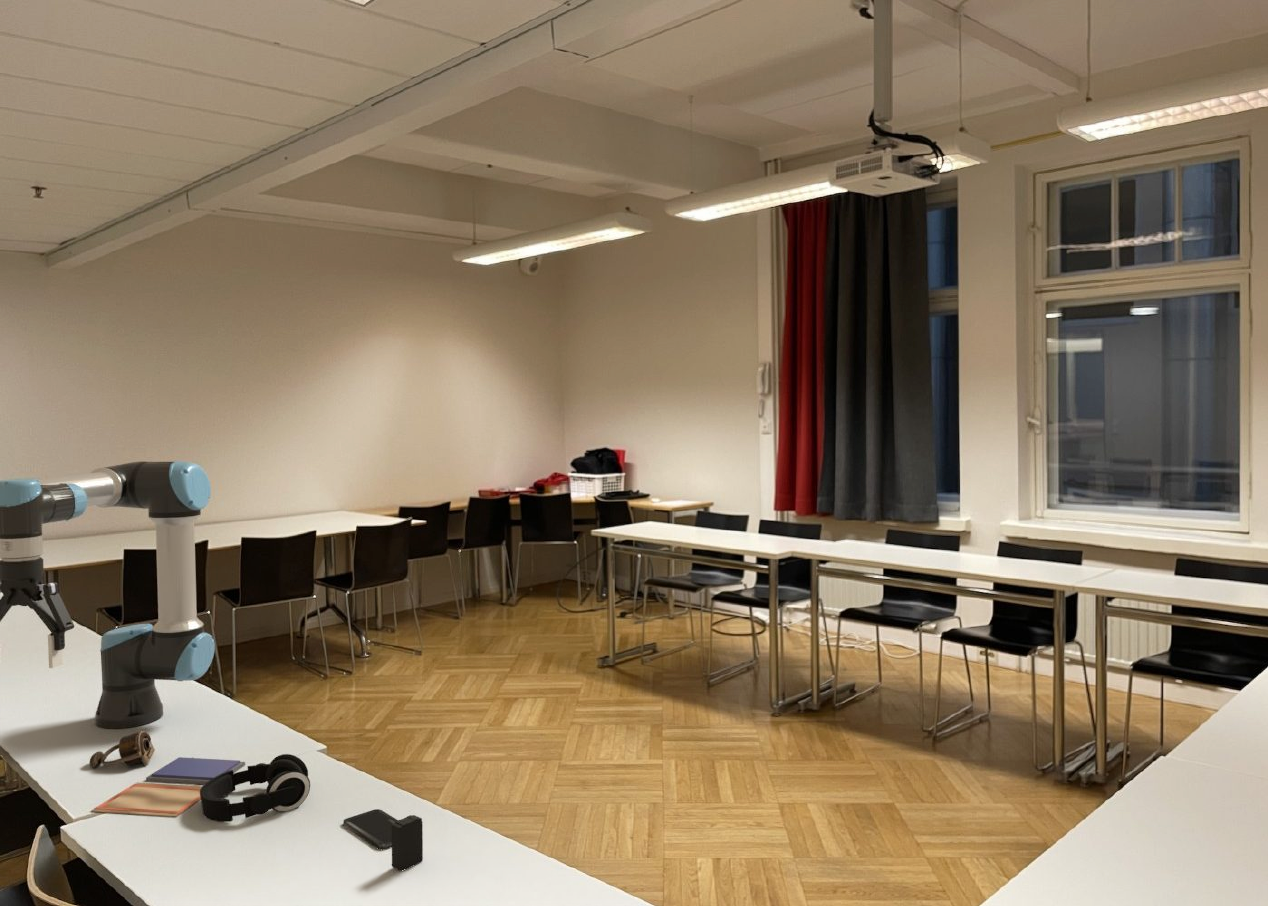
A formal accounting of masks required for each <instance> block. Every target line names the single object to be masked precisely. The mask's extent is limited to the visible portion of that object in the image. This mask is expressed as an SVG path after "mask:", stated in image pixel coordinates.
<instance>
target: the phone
mask: <svg viewBox="0 0 1268 906" xmlns="http://www.w3.org/2000/svg"><path fill="white" fill-rule="evenodd" d="M398 820H399V819H396V817H393V816H392V815H391V814H389V813H387V812H386V811H384V810H383V809H371V810H369V811H365V812H362V813H359V814H357V815H353V816H350V817H347V818H344V819H343V826H344V827H345V828H346V829H348V830H349V831H351V833H353V834H355V835H356V836H358V837H360V838H361V839H363V840H364V841H366V842H367V843H368V844H369V845H371V846H372V847H374V846H375V847H376V848H375V847H374V848H375V849H377V848H378V849H377V850H379V849H380V851H381V849H382V851H384V850H383V849H385V850H388V849H391V848H392V831H391V825H392V824H393V823H395V822H396V821H398ZM390 847H391V848H390ZM387 848H388V849H387Z"/></svg>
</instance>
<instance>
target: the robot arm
mask: <svg viewBox="0 0 1268 906" xmlns="http://www.w3.org/2000/svg"><path fill="white" fill-rule="evenodd" d="M211 492H212V491H211V482H210V479H209V477H208V474H207V473H206V471H205V470H204V469H203V467H201V465H199V464H197V463H194V462H189V461H188V462H187V461H186V462H185V461H180V460H179V461H178V460H175V461H143V460H142V461H133V462H126V463H122V464H116V465H111V466H106V467H105V466H104V467H98V468H95V469H94V470H92V471H91V472H90V473H83V474H74V475H66V476H57V477H49V478H43V479H42V478H41V479H40V478H39V479H36V478H12V479H11V478H10V479H3V480H0V593H2V594H3V595H2V596H1V597H0V622H2V620H3V619H4V617H5V616H6V615H7V613H8V612H9V611H10V609H11V608H12V607H13V606H14V607H17V606H20V607H28V608H29V609H31V610H33V611H34V612H35V614H37V616H38V618H39V619H40V620H41V621H42V623H43V624H44V625H45V626H46V628H47V629H48V630H49V631H50V634H48V635H47V645H48V646H47V647H48V650H47V651H48V669H54V668H57V667H60V666H62V665H63V663H64V662H63V661H64V660H63V650H64V649H65V646H66V642H65V641H66V640H65V635H66V632H68V631H70V630H73V629H74V628H75V624H74V621H73V620H72V616H71V615H70V614H69V612H68V610H67V607H66V605H65V603H64V601H63V599H62V597H61V595H60V593H59V585H58V583H57V582H56V581H52V582H49V583H44V582H43V580H42V579H43V576H44V574H45V572H44V571H45V570H44V567H45V566H44V558H42V557H41V556H42V555H43V554H44V546H43V545H44V544H43V543H44V542H43V525H45V524H49V523H55V522H62V521H67V522H68V521H70V520H73V519H76V518H78V517H80V516H82V515H83V514H84V513H85V511H86V510H87V507H92V506H96V507H97V508H98V507H99V508H102V509H105V508H110V507H111V508H112V507H113V508H114V507H116V508H129V509H131V508H132V509H147V510H148V511H147V512H148V519H149V520H150V521H151V522H153V523H154V524H155V545H156V579H157V613H158V620H157V622H156V623H155V624H154V625H153V624H152V623H138V624H132V625H128V626H127V625H126V626H122V627H118V628H115V629H111V630H110V631H107V632H105V633H104V634H102V637H101V641H100V650H99V652H100V665H101V666H100V667H101V683H102V684H101V685H102V687H101V688H102V691H101V695H100V698H99V701H98V705H97V708H96V711H95V715H94V721H95V723H94V724H95V726H97V727H99V728H103V729H104V728H105V729H126V728H133V727H138V726H142V725H146V724H149V723H152V722H155V721H157V720H159V719H161V718H162V717H163V716H164V705H163V704H164V703H162V701H161V700H162V699H161V698H160V696H159V693H158V689H157V688H156V683H155V680H157V681H159V680H160V681H177V682H184V681H186V682H187V681H189V682H190V681H197V680H198V679H200V678H201V677H202V676H204V675H205V674H206V672H208V670H209V667H210V666H211V664H212V661H213V659H214V655H215V650H216V649H215V648H216V647H215V646H216V645H215V640H214V638H213V636H212V635H211V634H210V633H208V632H205V629H204V628H205V627H204V625H205V624H204V622H203V621H202V620H200V619H199V618H198V616H197V615H198V614H197V612H198V611H197V578H196V577H197V576H196V572H197V571H196V546H195V545H196V542H195V541H196V538H195V536H196V535H195V522H196V521H197V520H198V519H199V518H200V517H201V514H202V513H201V510H203V509H205V508H206V506H208V504H209V502H210V498H211ZM43 583H44V584H43ZM1 647H2V646H1V642H0V663H2V648H1Z"/></svg>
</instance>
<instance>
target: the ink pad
mask: <svg viewBox="0 0 1268 906" xmlns="http://www.w3.org/2000/svg"><path fill="white" fill-rule="evenodd" d="M245 766H246V761H241V760H237V759H236V760H235V759H218V758H217V759H216V758H201V757H200V758H198V757H195V758H194V757H182V756H181V757H180V756H179V757H177V758H175V759H174V760H172V761H171V762H168V763H167V764H165V765H164V766H162V767H161V768H159V769H158V770H156V771H154V772H153V773H151V774H150V775H148V776H146V778H145V781H147V782H161V783H175V784H176V783H177V784H194V785H195V784H196V785H197V784H198V785H204V784H205V783H207V782H208V781H209V780H211V779H213V778H214V777H216V776H218V775H220V774H222V773H225V772H227V771H230V770H233V774H235V773H237V772H238V771H239V770H240V769H242V768H243V767H245Z"/></svg>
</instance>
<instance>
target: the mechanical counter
mask: <svg viewBox="0 0 1268 906" xmlns="http://www.w3.org/2000/svg"><path fill="white" fill-rule="evenodd" d="M116 750H118V753H119V757H120V758H118V759H115V760H110V761H105V760H106V759H107V757H108V756H109V755H110V754H112V753H113V752H114V751H116ZM155 750H156V749H155V747H154V745H153V743H152V737H151V736H150V734H149V733H148V732H146V731H144V730H141V731H139V732H135V733H131V734H128V735H124V736H122V737H121V738H120V739H119V743H118V744H115V745H113V746H112V747H110V748H108V750H106V751H105V752H103V751H96V752H95V753H93V754H91V757H90V758H89V767H90V768H92V769H96V768H99V767H100V766H101V765H103V766H106V767H111V766H115V765H118V764H122V763H123V764H124V765H127V766H132V765H134V764H138V763H141V762H142V763H143V766H145V767H147V766H148V765H149V763H150V761H151V760H152V758H153V756H154V753H155Z"/></svg>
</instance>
